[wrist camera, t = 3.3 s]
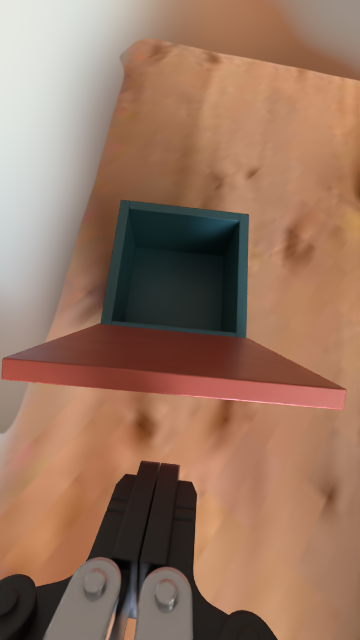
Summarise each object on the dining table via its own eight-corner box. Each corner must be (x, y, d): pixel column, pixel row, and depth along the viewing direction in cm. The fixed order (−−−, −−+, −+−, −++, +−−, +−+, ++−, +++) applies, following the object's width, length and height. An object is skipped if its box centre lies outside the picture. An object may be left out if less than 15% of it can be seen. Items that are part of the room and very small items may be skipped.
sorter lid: (1, 357, 11) (0, 380, 11) (347, 389, 12) (344, 410, 12) (98, 323, 27) (97, 333, 27) (248, 338, 27) (247, 347, 27)
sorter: (129, 243, 40) (120, 199, 31) (230, 254, 40) (248, 214, 32) (114, 347, 36) (99, 329, 27) (225, 357, 36) (246, 343, 28)
